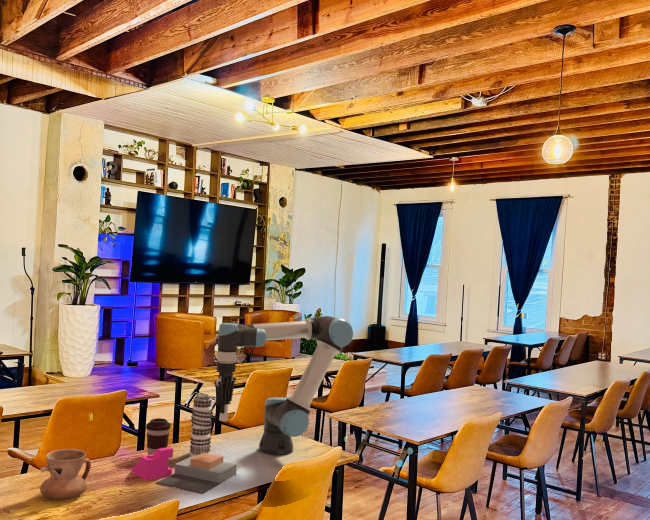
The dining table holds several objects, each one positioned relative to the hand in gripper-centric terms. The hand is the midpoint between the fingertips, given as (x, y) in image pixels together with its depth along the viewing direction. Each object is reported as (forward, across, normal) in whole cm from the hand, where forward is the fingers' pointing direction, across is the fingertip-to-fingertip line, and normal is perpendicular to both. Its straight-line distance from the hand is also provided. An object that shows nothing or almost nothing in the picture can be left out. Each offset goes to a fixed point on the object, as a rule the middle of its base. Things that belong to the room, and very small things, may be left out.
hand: (223, 420), depth 243 cm
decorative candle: (+19, -9, -16) cm, 26 cm away
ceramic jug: (+19, +52, -29) cm, 62 cm away
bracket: (+19, +20, -18) cm, 33 cm away
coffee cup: (+19, +3, -29) cm, 35 cm away
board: (+18, +11, 0) cm, 21 cm away
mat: (+18, +20, 0) cm, 27 cm away
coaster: (+14, +10, 0) cm, 18 cm away
